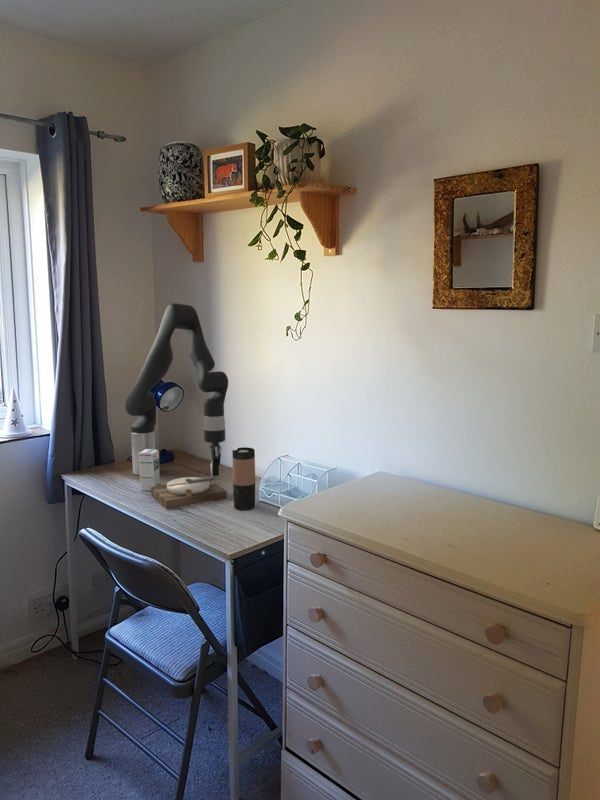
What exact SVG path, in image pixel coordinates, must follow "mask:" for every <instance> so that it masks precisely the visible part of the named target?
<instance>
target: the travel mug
mask: <svg viewBox="0 0 600 800" xmlns="http://www.w3.org/2000/svg"><path fill="white" fill-rule="evenodd" d="M255 452H256V451H255V449H254V448H253V447H246V446H244V447H238V448H237V449H232V454H231V455H232V491H233V492H232V493H233V509H236V510H237V511H250V510H253V509H255V508H256V455H255Z"/></svg>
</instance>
